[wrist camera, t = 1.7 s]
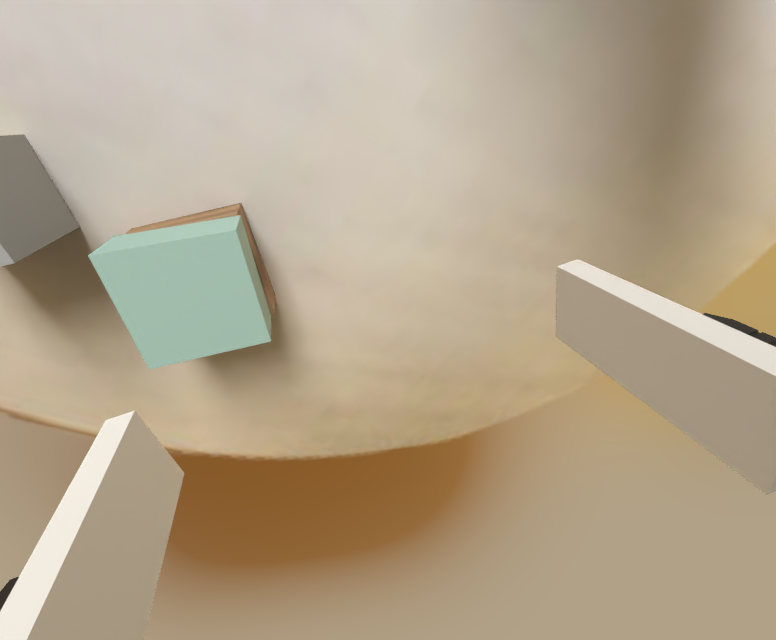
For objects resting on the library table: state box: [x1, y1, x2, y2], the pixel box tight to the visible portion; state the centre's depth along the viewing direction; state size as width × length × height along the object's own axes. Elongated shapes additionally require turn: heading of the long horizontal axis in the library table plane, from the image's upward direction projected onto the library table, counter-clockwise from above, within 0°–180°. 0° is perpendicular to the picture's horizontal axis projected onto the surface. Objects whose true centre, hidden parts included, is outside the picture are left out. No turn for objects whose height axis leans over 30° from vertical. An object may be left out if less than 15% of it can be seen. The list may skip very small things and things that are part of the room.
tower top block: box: [88, 215, 271, 369], centre depth 25 cm, size 8×8×4 cm
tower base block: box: [124, 203, 275, 314], centre depth 29 cm, size 8×8×4 cm
